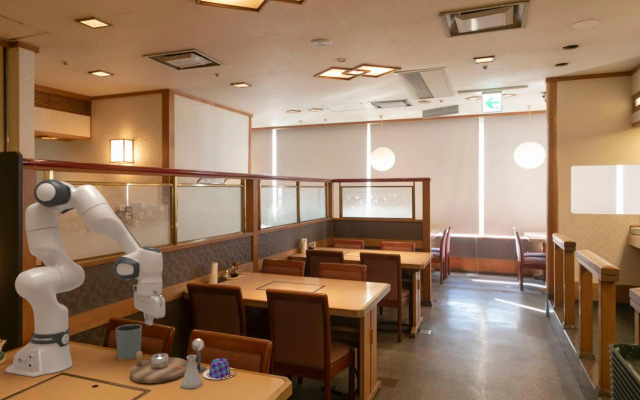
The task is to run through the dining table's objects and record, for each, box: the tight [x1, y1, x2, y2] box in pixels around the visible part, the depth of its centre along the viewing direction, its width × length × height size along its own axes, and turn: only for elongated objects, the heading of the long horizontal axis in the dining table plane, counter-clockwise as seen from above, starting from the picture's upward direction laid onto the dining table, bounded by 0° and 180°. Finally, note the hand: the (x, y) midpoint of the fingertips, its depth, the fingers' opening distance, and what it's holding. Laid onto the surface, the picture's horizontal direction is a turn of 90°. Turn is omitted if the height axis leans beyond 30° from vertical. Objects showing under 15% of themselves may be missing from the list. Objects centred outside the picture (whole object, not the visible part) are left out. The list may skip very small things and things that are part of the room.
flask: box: [180, 354, 203, 390], centre depth 154 cm, size 7×7×10 cm
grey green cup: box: [114, 323, 143, 360], centre depth 183 cm, size 10×10×12 cm
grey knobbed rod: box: [191, 337, 207, 374], centre depth 167 cm, size 4×4×12 cm
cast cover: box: [150, 352, 169, 370], centre depth 164 cm, size 6×6×4 cm
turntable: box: [129, 350, 188, 384], centre depth 164 cm, size 20×20×7 cm
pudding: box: [202, 357, 237, 380], centre depth 164 cm, size 12×12×5 cm
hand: (148, 324), depth 172 cm, fingers closed
